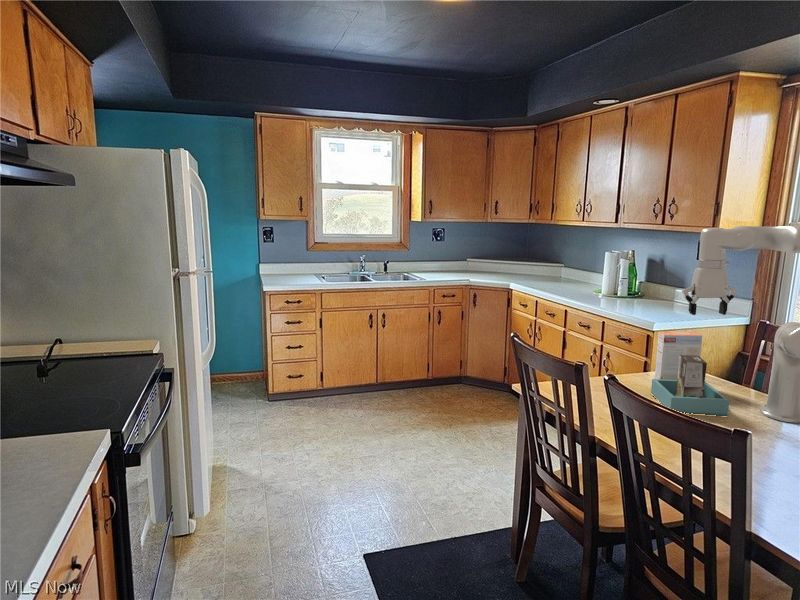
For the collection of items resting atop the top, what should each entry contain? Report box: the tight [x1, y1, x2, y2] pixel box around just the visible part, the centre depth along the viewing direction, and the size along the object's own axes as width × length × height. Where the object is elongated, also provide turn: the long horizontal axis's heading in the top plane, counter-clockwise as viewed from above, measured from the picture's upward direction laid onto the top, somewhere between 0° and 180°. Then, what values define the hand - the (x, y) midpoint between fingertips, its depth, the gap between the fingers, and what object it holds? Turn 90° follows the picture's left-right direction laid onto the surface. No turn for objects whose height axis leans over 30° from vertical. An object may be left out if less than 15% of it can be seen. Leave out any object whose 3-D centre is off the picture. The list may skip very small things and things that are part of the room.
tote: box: [650, 378, 731, 417], centre depth 173 cm, size 18×18×6 cm
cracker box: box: [654, 331, 703, 380], centre depth 191 cm, size 14×6×21 cm, turn 84°
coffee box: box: [676, 355, 708, 398], centre depth 172 cm, size 9×6×16 cm
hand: (707, 314), depth 170 cm, fingers open, 9 cm apart
